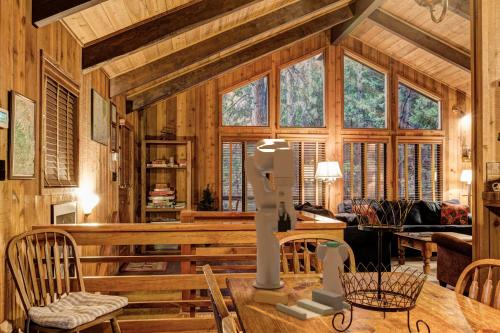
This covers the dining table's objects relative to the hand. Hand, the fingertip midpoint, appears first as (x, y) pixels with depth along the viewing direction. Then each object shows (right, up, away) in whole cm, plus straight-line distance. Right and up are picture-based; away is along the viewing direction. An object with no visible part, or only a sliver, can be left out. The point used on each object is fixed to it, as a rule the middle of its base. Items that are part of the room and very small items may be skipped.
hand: (284, 231), depth 167 cm
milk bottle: (+19, -26, +9) cm, 33 cm away
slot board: (+9, -25, -12) cm, 29 cm away
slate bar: (+14, -24, -9) cm, 29 cm away
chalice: (+24, -27, +41) cm, 55 cm away
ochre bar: (-5, -26, -3) cm, 26 cm away
